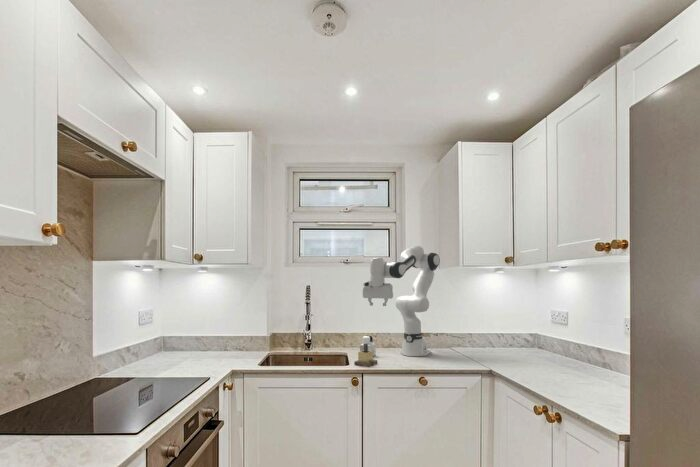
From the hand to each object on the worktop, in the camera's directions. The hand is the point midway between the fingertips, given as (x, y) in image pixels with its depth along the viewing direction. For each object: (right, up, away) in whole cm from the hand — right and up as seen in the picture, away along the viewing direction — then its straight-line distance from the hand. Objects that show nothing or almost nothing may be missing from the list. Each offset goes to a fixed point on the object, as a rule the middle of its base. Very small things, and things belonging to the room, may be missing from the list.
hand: (377, 305), depth 253 cm
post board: (-8, -34, -9) cm, 35 cm away
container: (-6, -36, +16) cm, 40 cm away
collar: (-8, -31, -9) cm, 33 cm away
